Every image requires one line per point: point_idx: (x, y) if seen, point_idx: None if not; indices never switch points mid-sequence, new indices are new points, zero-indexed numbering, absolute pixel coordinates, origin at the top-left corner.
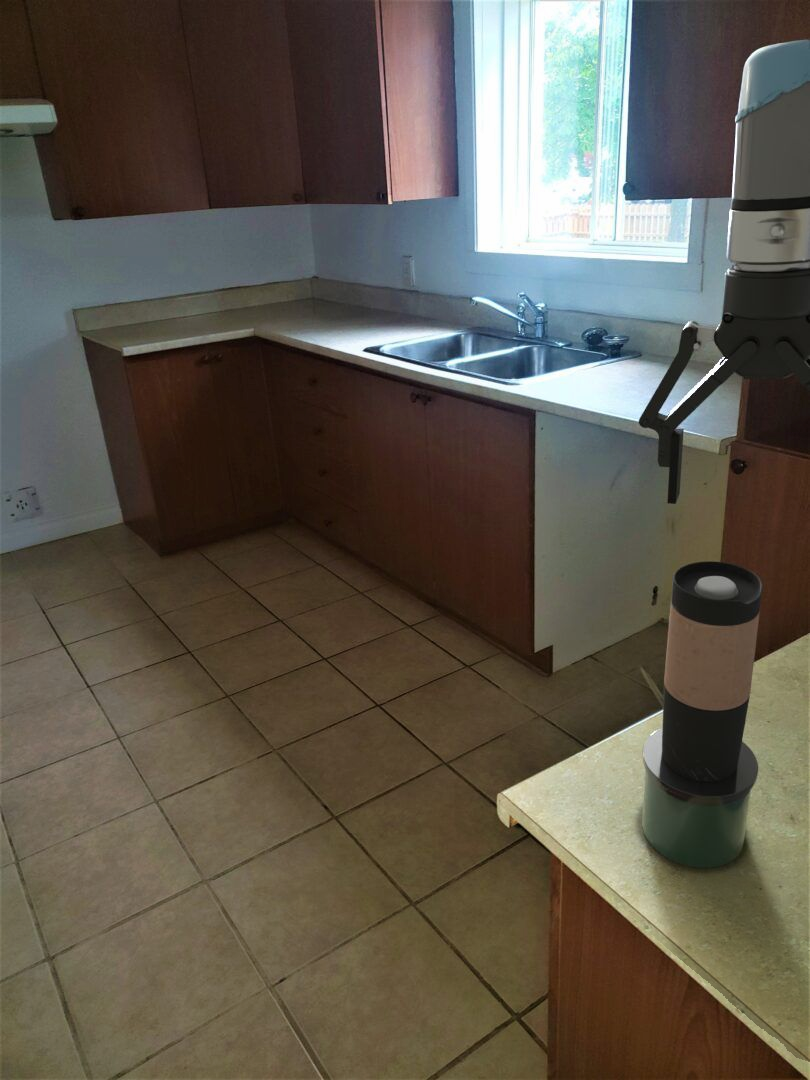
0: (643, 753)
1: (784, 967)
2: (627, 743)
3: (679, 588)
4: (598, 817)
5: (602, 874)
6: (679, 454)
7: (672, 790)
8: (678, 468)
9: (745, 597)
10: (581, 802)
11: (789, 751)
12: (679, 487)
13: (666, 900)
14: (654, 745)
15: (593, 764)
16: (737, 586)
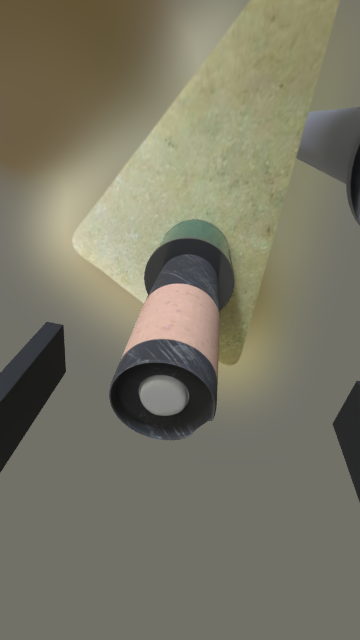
0: (145, 283)
1: (236, 340)
2: (141, 157)
3: (119, 418)
4: (130, 253)
5: (140, 299)
6: (9, 444)
7: None
8: (28, 417)
9: (196, 409)
10: (116, 240)
11: (290, 139)
12: (56, 343)
13: None
14: (153, 273)
15: (117, 194)
16: (189, 388)
